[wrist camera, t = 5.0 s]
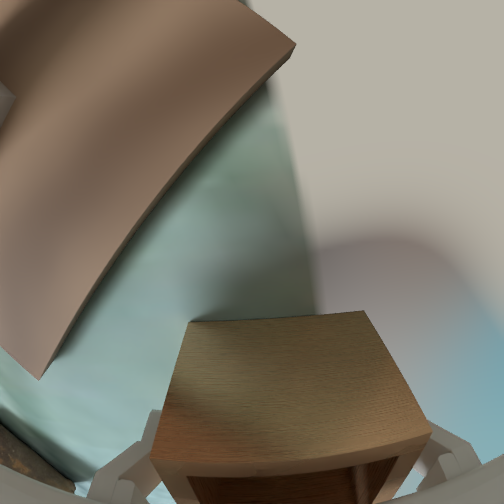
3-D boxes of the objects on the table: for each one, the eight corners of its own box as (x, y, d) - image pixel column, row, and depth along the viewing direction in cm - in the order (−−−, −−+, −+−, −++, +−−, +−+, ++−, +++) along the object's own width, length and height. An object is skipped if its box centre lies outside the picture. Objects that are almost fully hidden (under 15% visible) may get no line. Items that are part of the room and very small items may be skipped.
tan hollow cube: (363, 310, 11) (432, 431, 5) (344, 420, 13) (373, 523, 8) (188, 322, 11) (149, 458, 6) (212, 430, 13) (201, 538, 8)
